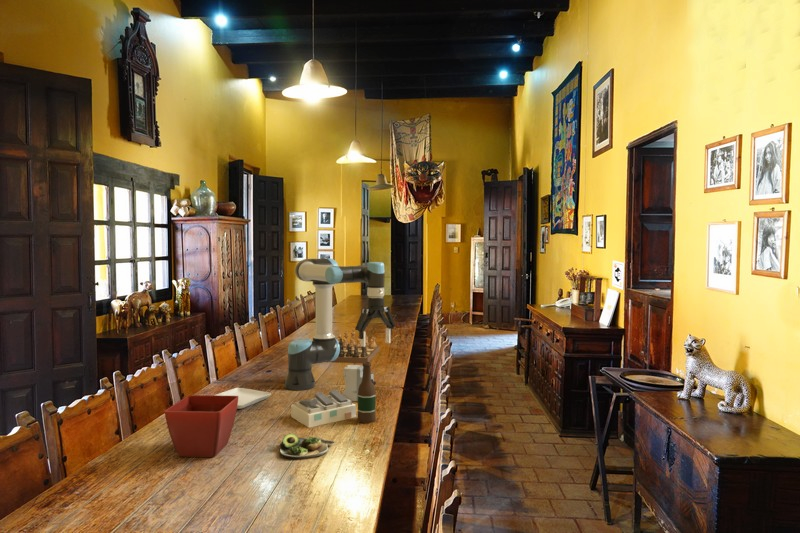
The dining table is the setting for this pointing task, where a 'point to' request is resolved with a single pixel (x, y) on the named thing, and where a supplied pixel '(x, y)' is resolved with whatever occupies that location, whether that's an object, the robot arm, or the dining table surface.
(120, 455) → the dining table surface
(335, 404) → the console
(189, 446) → the plant pot
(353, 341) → the chess set
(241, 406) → the salad plate
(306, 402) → the rocker
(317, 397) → the block
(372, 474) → the dining table surface
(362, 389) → the beer bottle
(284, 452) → the salad plate
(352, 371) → the circuit breaker
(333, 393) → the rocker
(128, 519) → the dining table surface
